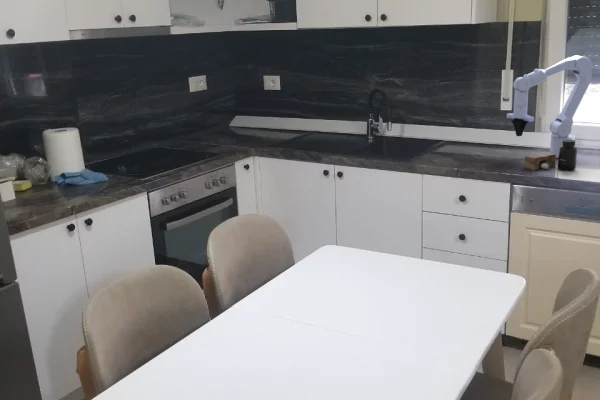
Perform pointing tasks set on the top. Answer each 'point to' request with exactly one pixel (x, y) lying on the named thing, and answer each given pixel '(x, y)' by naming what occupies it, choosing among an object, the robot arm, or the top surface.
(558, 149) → the robot arm
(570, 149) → the supplement bottle
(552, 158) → the block
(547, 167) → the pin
